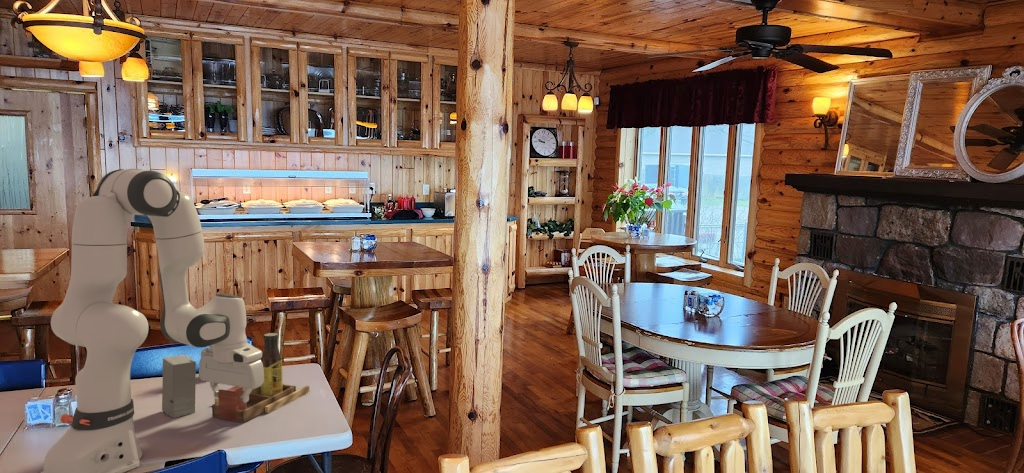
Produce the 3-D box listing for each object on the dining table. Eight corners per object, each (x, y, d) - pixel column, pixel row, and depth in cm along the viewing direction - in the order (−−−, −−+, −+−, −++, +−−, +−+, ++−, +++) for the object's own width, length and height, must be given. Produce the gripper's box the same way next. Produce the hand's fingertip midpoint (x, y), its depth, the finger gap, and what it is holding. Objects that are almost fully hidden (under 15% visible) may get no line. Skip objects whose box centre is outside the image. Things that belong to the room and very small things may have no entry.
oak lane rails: (267, 413, 191) (267, 407, 191) (214, 404, 197) (214, 398, 197) (309, 392, 209) (309, 385, 208) (259, 384, 215) (259, 378, 215)
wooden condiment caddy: (243, 422, 184) (242, 394, 183) (212, 416, 187) (211, 389, 187) (295, 395, 205) (295, 370, 204) (266, 391, 208) (266, 366, 207)
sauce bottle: (276, 402, 199) (274, 338, 197) (257, 401, 200) (254, 336, 198) (287, 395, 206) (285, 332, 204) (268, 393, 207) (266, 331, 205)
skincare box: (161, 411, 192) (158, 358, 190) (187, 404, 197) (184, 352, 195) (172, 419, 186) (170, 364, 184) (199, 412, 191) (196, 359, 190)
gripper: (192, 349, 186) (193, 397, 187) (250, 358, 179) (251, 408, 180) (209, 344, 192) (211, 390, 193) (267, 352, 184) (268, 400, 186)
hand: (231, 399), depth 186 cm, fingers open, 8 cm apart
